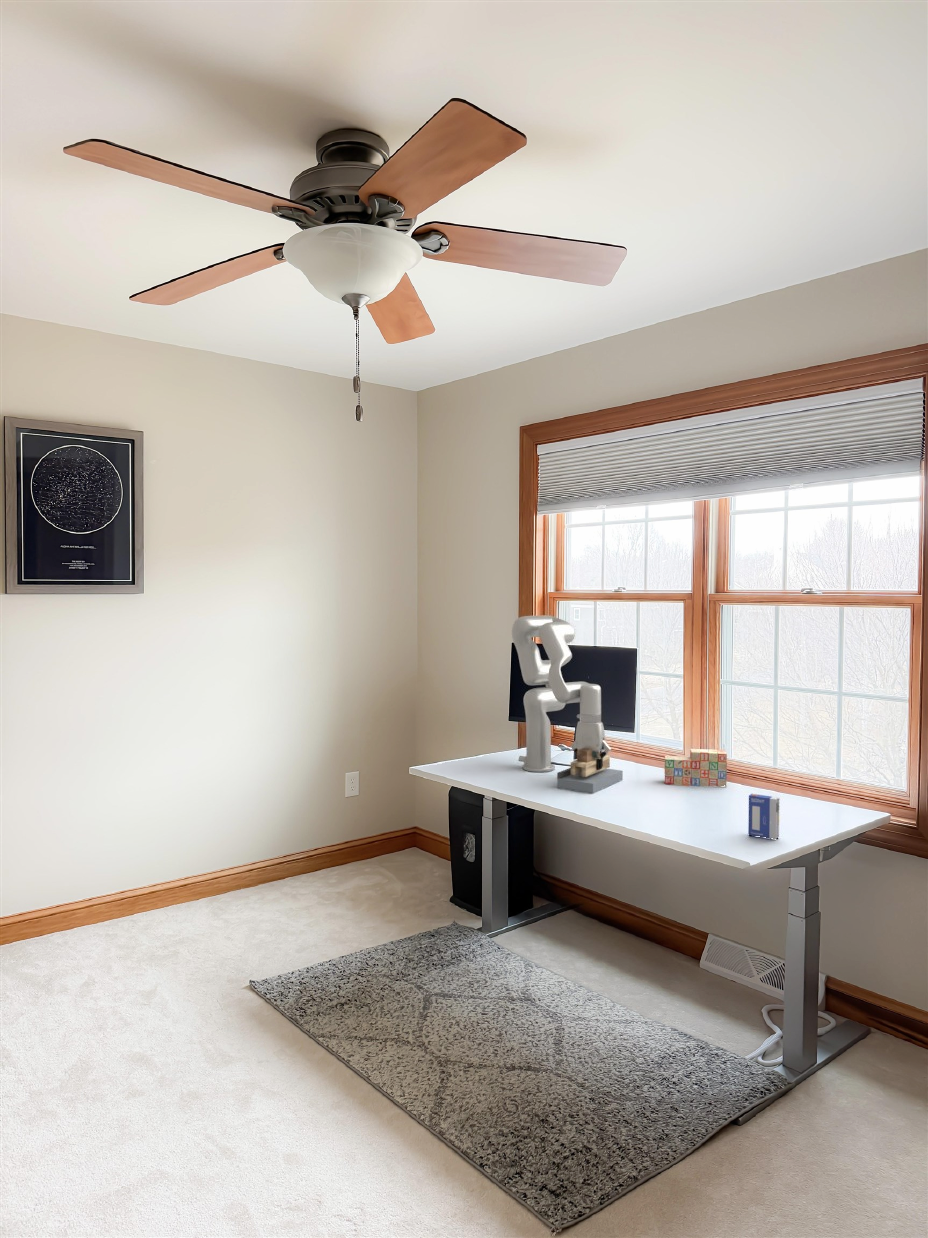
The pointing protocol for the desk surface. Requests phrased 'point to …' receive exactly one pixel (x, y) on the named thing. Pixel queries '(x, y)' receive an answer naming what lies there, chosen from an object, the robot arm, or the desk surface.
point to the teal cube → (595, 754)
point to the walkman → (763, 816)
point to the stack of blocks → (697, 768)
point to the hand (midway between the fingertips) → (590, 767)
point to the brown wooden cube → (584, 755)
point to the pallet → (588, 766)
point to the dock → (588, 780)
